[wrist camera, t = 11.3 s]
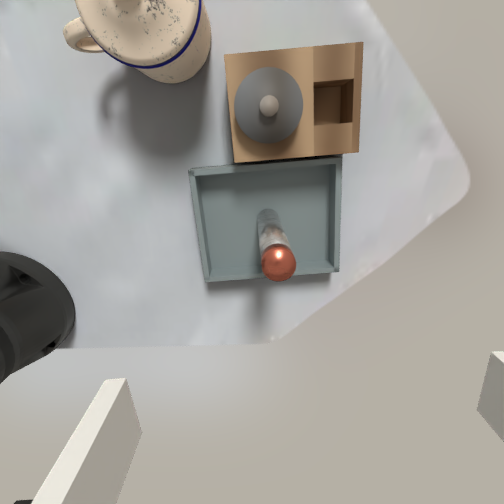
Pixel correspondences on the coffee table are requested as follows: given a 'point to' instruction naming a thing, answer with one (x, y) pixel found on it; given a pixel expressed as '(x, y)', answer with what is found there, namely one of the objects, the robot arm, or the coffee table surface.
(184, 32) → the teacup with lid
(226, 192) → the tray
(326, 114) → the tan wooden block
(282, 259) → the pin
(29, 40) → the coffee table surface
